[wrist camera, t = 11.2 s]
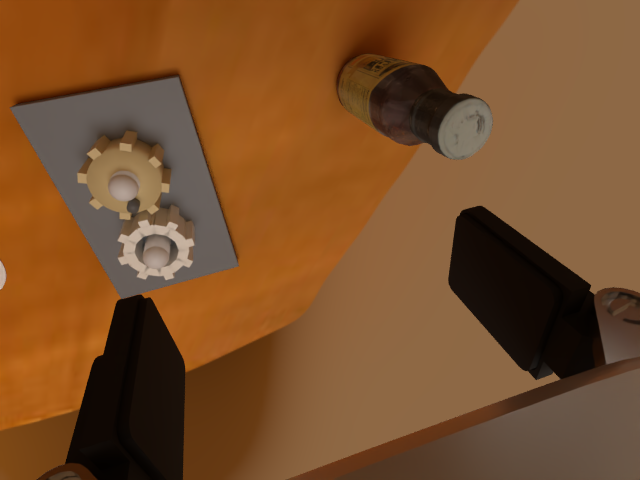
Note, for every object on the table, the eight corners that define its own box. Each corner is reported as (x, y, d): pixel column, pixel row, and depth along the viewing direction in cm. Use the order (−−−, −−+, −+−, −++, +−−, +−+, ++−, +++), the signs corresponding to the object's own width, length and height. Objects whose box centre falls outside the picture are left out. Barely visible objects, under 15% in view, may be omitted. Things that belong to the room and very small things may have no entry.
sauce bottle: (393, 59, 40) (533, 90, 23) (376, 117, 42) (491, 181, 26) (338, 44, 37) (452, 67, 21) (324, 107, 40) (415, 170, 24)
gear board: (16, 104, 32) (-26, 125, 26) (178, 74, 34) (176, 87, 28) (123, 290, 44) (112, 336, 38) (237, 259, 47) (244, 297, 40)
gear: (110, 212, 38) (102, 230, 34) (181, 194, 39) (181, 211, 35) (139, 267, 42) (134, 289, 38) (203, 250, 43) (204, 269, 40)
